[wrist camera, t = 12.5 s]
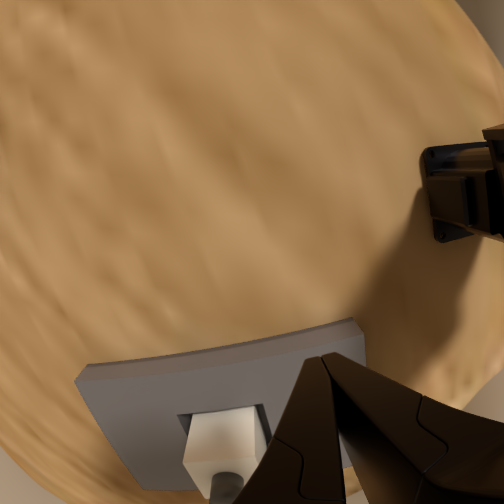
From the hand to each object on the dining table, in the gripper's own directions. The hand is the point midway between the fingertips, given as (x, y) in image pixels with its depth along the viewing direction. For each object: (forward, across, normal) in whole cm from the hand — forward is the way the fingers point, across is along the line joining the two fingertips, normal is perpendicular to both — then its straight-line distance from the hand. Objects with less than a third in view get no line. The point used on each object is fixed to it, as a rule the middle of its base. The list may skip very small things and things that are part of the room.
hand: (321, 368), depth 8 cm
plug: (+12, +6, +12) cm, 17 cm away
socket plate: (+12, +6, +12) cm, 18 cm away
